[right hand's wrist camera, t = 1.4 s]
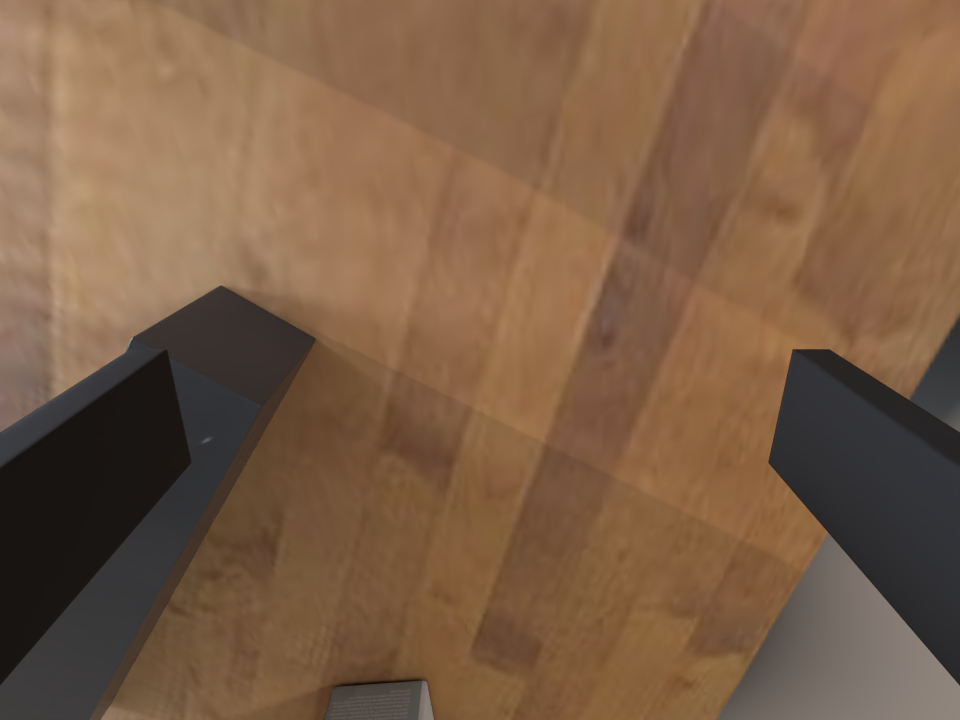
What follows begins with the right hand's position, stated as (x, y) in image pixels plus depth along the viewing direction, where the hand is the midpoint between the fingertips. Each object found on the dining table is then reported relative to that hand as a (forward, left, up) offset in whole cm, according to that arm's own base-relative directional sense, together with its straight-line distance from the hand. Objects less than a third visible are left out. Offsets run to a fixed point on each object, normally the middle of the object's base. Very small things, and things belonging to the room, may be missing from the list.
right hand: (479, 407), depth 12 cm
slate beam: (-8, -28, -21) cm, 36 cm away
